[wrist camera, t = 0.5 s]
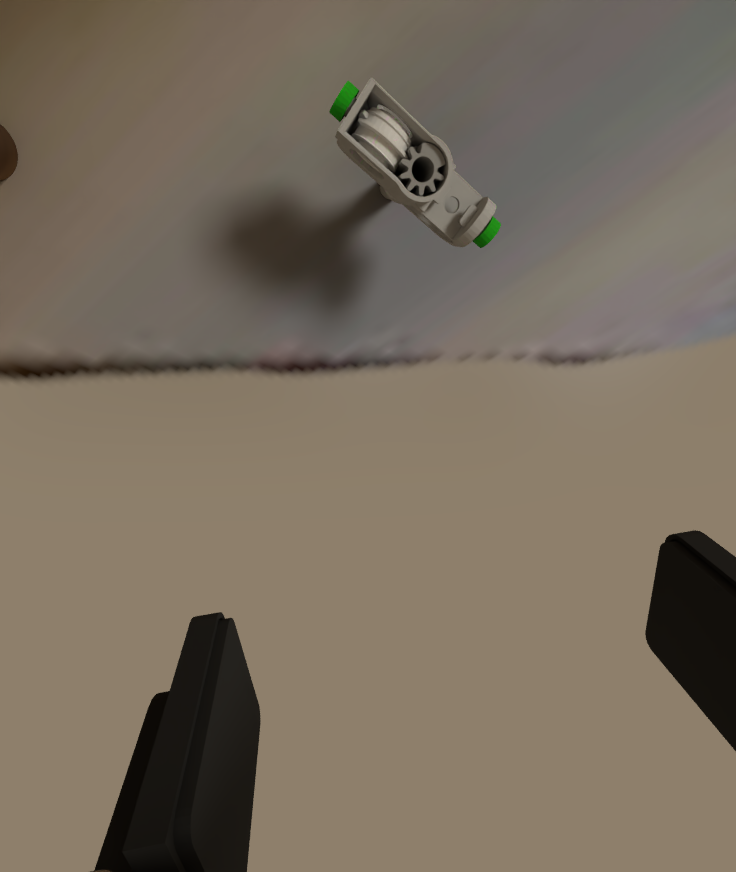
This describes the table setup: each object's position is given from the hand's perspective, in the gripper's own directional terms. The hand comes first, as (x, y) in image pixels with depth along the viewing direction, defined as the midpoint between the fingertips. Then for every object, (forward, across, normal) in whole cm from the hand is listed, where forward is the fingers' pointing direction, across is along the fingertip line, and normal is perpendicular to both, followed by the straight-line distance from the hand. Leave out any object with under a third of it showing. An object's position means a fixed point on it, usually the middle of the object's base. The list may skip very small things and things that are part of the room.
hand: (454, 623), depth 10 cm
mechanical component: (+29, -4, -10) cm, 31 cm away
